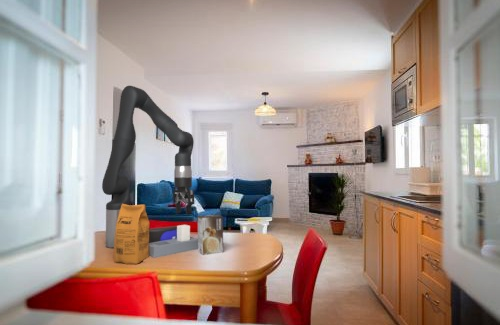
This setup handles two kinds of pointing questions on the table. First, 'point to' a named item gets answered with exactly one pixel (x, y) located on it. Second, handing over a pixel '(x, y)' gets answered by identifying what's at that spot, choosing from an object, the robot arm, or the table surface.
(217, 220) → the coffee box
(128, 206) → the coffee package
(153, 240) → the dark computer mouse
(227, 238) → the table surface
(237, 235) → the table surface
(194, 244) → the block
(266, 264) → the table surface
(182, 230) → the plug
